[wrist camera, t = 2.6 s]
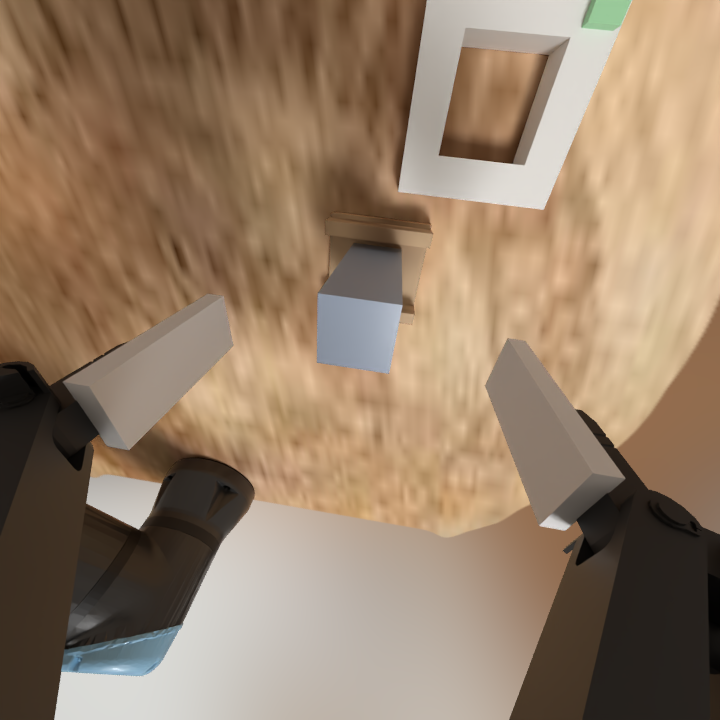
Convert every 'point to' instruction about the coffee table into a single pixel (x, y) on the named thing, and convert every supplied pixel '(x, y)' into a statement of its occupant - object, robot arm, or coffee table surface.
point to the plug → (361, 309)
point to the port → (549, 109)
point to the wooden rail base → (384, 234)
